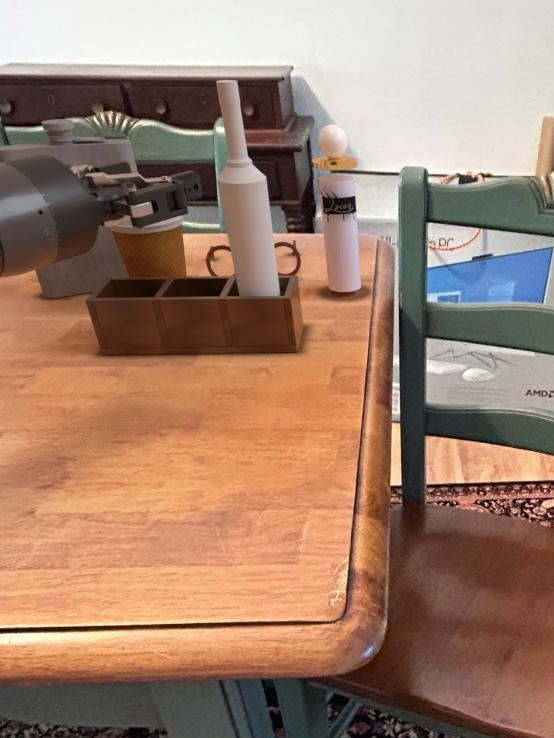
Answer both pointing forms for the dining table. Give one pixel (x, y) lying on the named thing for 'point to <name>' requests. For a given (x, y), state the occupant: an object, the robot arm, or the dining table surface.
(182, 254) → the disposable coffee cup
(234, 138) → the bottle
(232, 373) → the dining table surface
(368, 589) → the dining table surface
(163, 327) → the rack
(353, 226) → the perfume bottle
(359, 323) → the dining table surface
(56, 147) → the hip flask
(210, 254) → the glasses
